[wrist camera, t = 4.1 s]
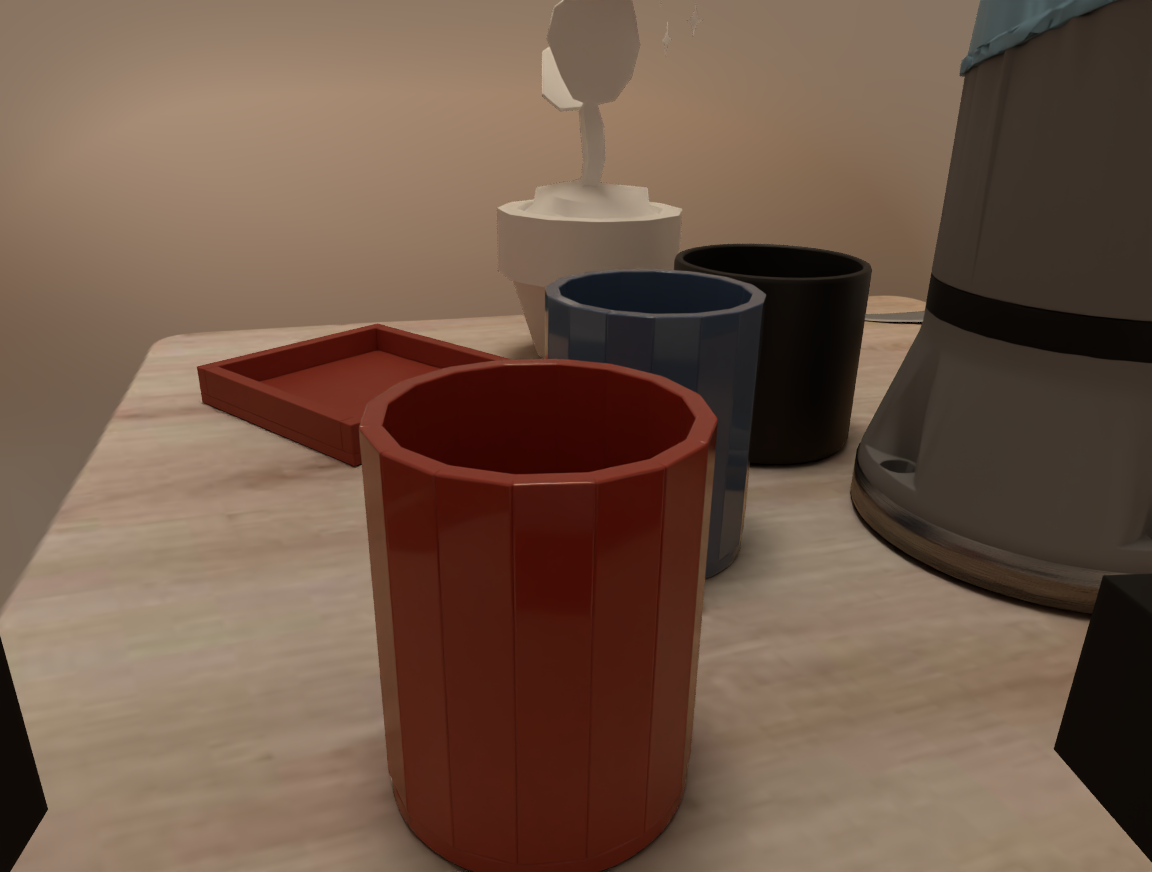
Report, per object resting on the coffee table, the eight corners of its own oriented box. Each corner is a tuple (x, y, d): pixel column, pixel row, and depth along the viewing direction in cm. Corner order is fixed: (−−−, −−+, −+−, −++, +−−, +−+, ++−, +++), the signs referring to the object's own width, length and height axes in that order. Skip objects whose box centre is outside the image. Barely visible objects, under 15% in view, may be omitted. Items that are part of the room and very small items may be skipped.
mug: (777, 383, 53) (793, 234, 49) (883, 459, 42) (913, 276, 39) (630, 391, 51) (636, 237, 48) (701, 474, 40) (715, 282, 37)
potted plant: (692, 386, 52) (725, -91, 43) (499, 388, 51) (490, -99, 42) (657, 331, 64) (677, -53, 54) (500, 332, 63) (493, -58, 53)
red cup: (740, 745, 24) (778, 403, 20) (558, 949, 18) (562, 524, 14) (528, 637, 28) (526, 341, 24) (329, 772, 22) (286, 415, 19)
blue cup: (775, 530, 35) (802, 288, 31) (671, 613, 30) (689, 330, 26) (621, 478, 40) (629, 261, 36) (505, 541, 34) (500, 291, 30)
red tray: (532, 399, 50) (532, 364, 49) (354, 466, 40) (350, 425, 40) (379, 353, 57) (377, 323, 57) (202, 402, 48) (196, 366, 47)
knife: (845, 320, 67) (833, 310, 69) (844, 328, 67) (832, 317, 70) (1014, 314, 67) (995, 305, 70) (1013, 322, 67) (994, 312, 70)
